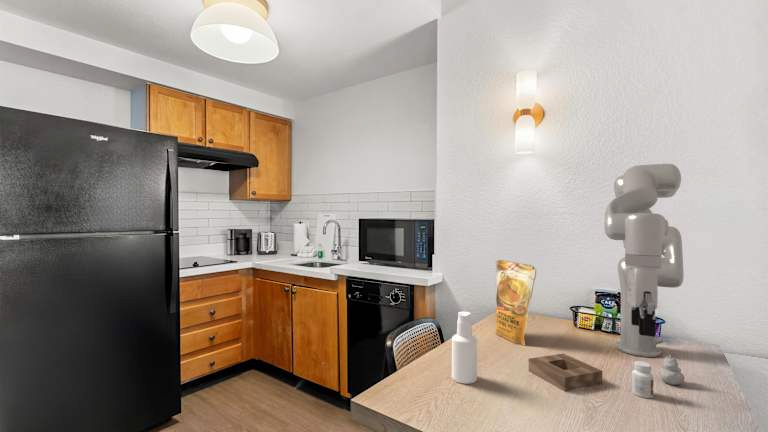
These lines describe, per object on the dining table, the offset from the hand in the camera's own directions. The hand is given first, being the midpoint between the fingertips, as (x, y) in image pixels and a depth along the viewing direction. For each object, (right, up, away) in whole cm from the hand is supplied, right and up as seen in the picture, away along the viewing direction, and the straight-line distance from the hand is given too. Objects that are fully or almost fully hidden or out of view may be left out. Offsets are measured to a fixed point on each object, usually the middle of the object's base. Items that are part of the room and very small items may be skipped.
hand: (642, 330), depth 90 cm
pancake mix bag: (-18, -17, +43) cm, 49 cm away
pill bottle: (0, -16, 0) cm, 16 cm away
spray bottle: (-43, -16, +9) cm, 47 cm away
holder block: (-15, -16, +10) cm, 24 cm away
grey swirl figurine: (+13, -17, +7) cm, 22 cm away
